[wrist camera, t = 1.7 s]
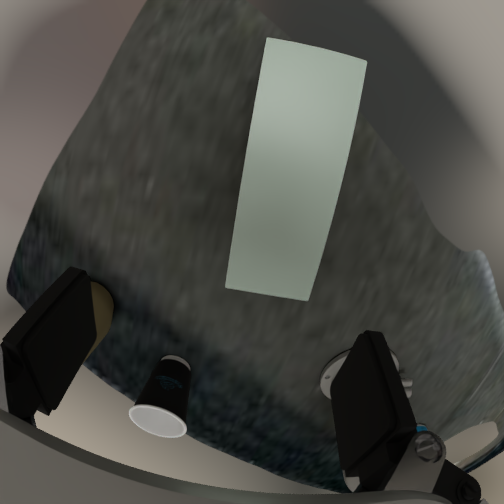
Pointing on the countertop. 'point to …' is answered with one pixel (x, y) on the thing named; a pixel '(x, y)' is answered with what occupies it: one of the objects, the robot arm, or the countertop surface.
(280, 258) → the lid
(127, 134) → the countertop surface
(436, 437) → the robot arm
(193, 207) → the countertop surface
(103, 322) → the squeeze bottle
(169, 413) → the dixie cup
